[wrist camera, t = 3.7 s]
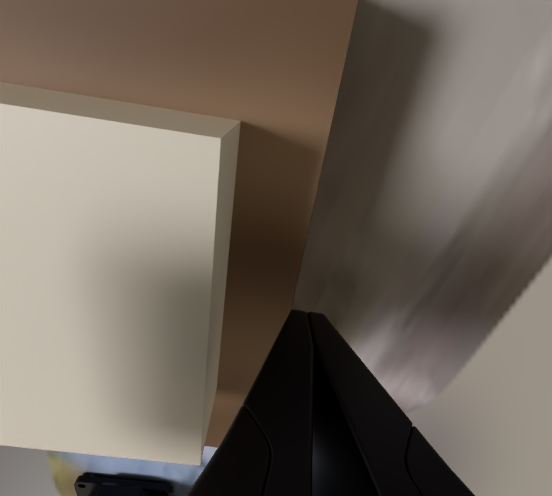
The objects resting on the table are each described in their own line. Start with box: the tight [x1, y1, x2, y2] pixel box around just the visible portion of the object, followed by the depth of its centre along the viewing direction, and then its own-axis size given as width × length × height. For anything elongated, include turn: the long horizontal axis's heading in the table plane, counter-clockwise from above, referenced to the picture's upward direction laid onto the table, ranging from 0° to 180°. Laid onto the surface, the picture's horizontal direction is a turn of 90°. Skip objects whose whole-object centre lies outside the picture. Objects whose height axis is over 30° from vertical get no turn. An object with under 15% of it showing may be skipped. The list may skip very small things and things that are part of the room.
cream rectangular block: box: [0, 82, 241, 466], centre depth 8 cm, size 9×6×2 cm, turn 171°
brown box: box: [0, 0, 358, 447], centre depth 11 cm, size 16×12×4 cm
